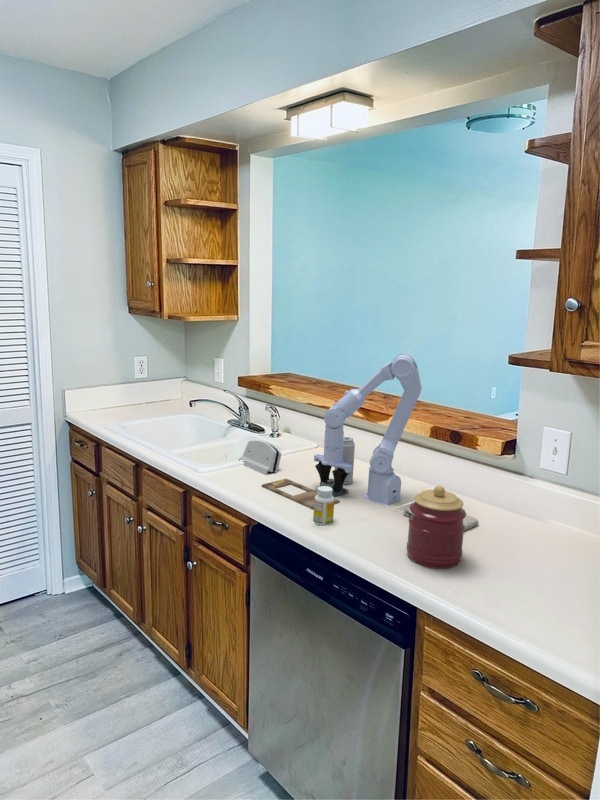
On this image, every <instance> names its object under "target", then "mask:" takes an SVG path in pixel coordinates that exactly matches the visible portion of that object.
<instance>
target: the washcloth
mask: <svg viewBox="0 0 600 800" xmlns="http://www.w3.org/2000/svg"><path fill="white" fill-rule="evenodd" d="M411 514H412V512H411V511H410V506H409V507H408V508H404V512H403V515H404V516H406V517H407V518H408V519H409V518H410V517H411ZM479 523H480V522H479V520H478V518H476V517H473V516H471V515H468V514H466V517H465V518H464V519H463V524H464V526H465V529H464V530H465V531H467V529H469V530H471V529H473V528H475V527H477V526H478V525H479ZM476 525H477V526H476ZM474 526H475V527H474ZM472 527H473V528H472ZM470 528H471V529H470Z"/></svg>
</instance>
